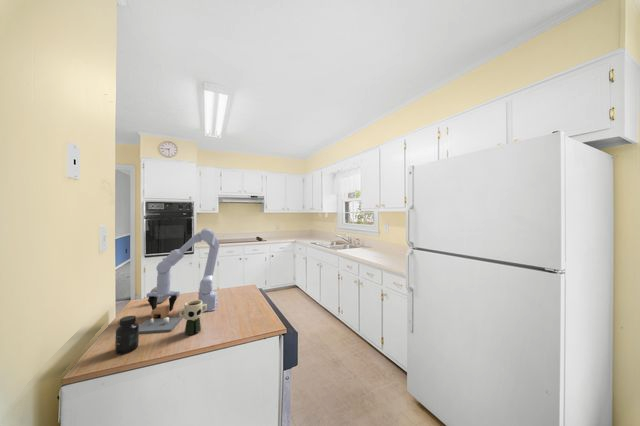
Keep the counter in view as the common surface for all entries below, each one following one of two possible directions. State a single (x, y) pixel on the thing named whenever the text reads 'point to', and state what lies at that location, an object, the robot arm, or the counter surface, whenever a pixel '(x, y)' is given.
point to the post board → (159, 325)
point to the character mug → (192, 315)
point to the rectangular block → (161, 310)
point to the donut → (159, 299)
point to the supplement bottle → (127, 335)
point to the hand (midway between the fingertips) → (162, 310)
